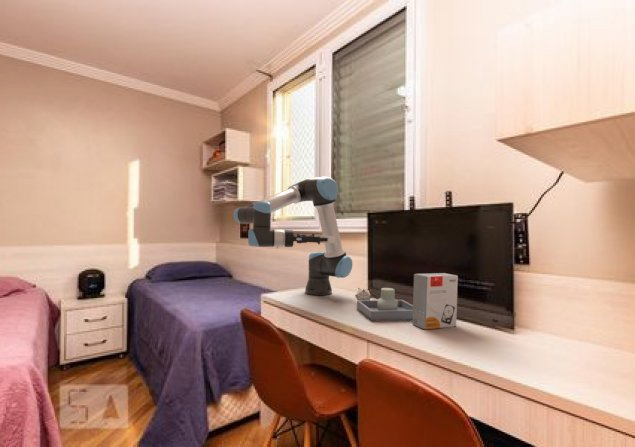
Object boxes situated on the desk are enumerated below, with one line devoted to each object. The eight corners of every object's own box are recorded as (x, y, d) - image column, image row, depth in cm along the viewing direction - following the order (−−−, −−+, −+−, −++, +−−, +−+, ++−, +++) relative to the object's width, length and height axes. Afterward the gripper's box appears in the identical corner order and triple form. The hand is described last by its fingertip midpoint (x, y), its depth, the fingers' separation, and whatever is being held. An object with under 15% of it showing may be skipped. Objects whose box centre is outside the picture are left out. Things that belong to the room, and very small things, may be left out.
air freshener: (378, 308, 154) (379, 286, 154) (397, 309, 152) (398, 287, 152) (376, 314, 143) (377, 290, 143) (396, 316, 141) (397, 291, 141)
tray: (356, 309, 156) (356, 300, 156) (402, 308, 159) (402, 299, 159) (370, 321, 136) (371, 311, 136) (422, 320, 140) (422, 310, 140)
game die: (365, 313, 163) (365, 299, 158) (351, 304, 168) (351, 290, 162) (375, 302, 169) (376, 288, 163) (361, 293, 173) (362, 279, 167)
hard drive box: (424, 330, 125) (425, 276, 126) (411, 324, 132) (412, 273, 133) (457, 326, 131) (458, 275, 131) (443, 321, 138) (444, 272, 138)
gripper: (282, 245, 161) (325, 245, 165) (286, 248, 137) (337, 249, 140) (282, 229, 161) (326, 230, 165) (286, 230, 137) (337, 231, 140)
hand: (331, 239), depth 153 cm, fingers open, 13 cm apart
